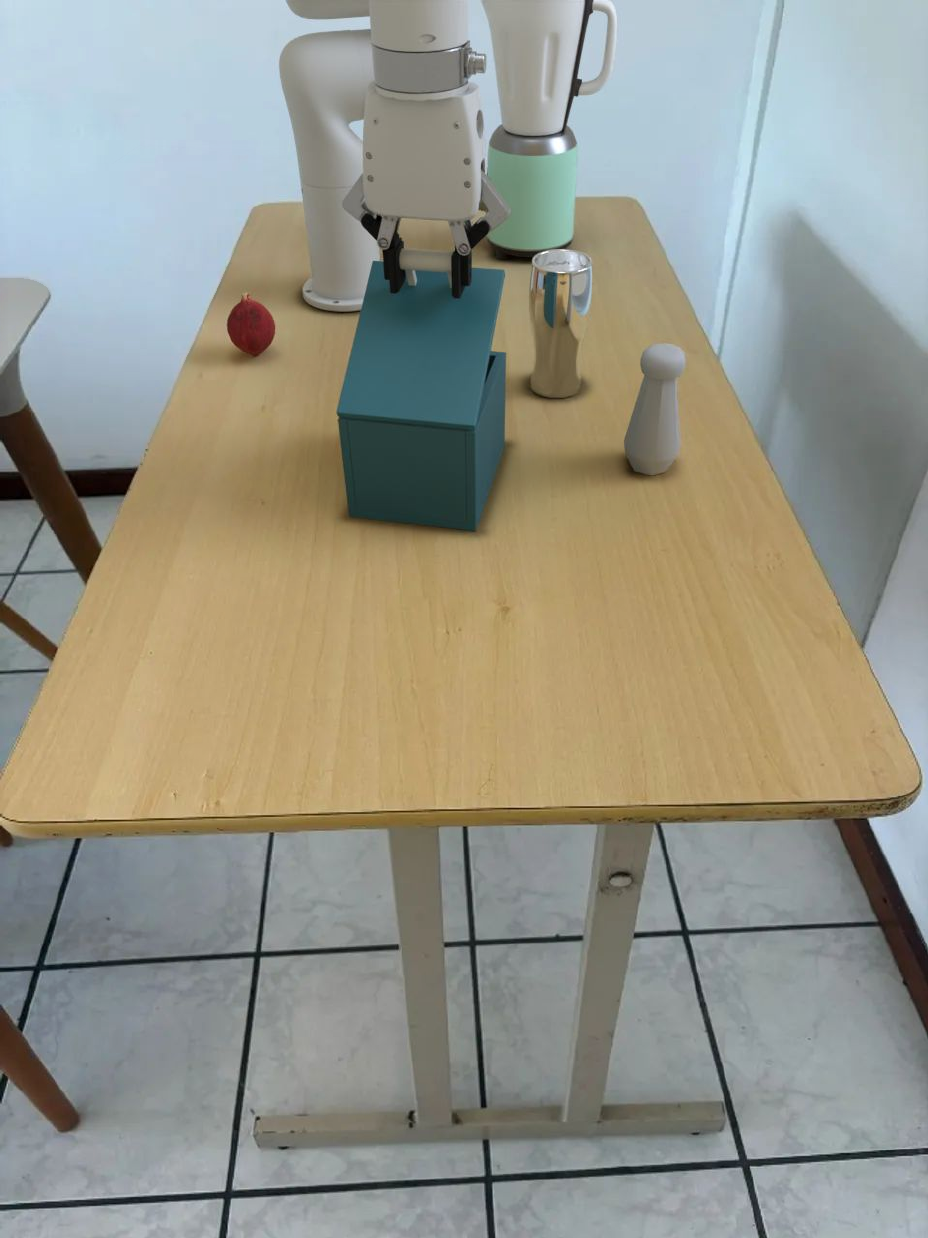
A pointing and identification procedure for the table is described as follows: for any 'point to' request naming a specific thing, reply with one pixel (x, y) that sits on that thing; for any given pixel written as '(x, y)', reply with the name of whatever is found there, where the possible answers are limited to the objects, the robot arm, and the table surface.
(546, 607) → the table surface
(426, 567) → the table surface
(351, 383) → the lid
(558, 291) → the beer glass
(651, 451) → the salt shaker
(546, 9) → the mint green blender
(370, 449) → the cool box
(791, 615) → the table surface
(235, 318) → the onion
